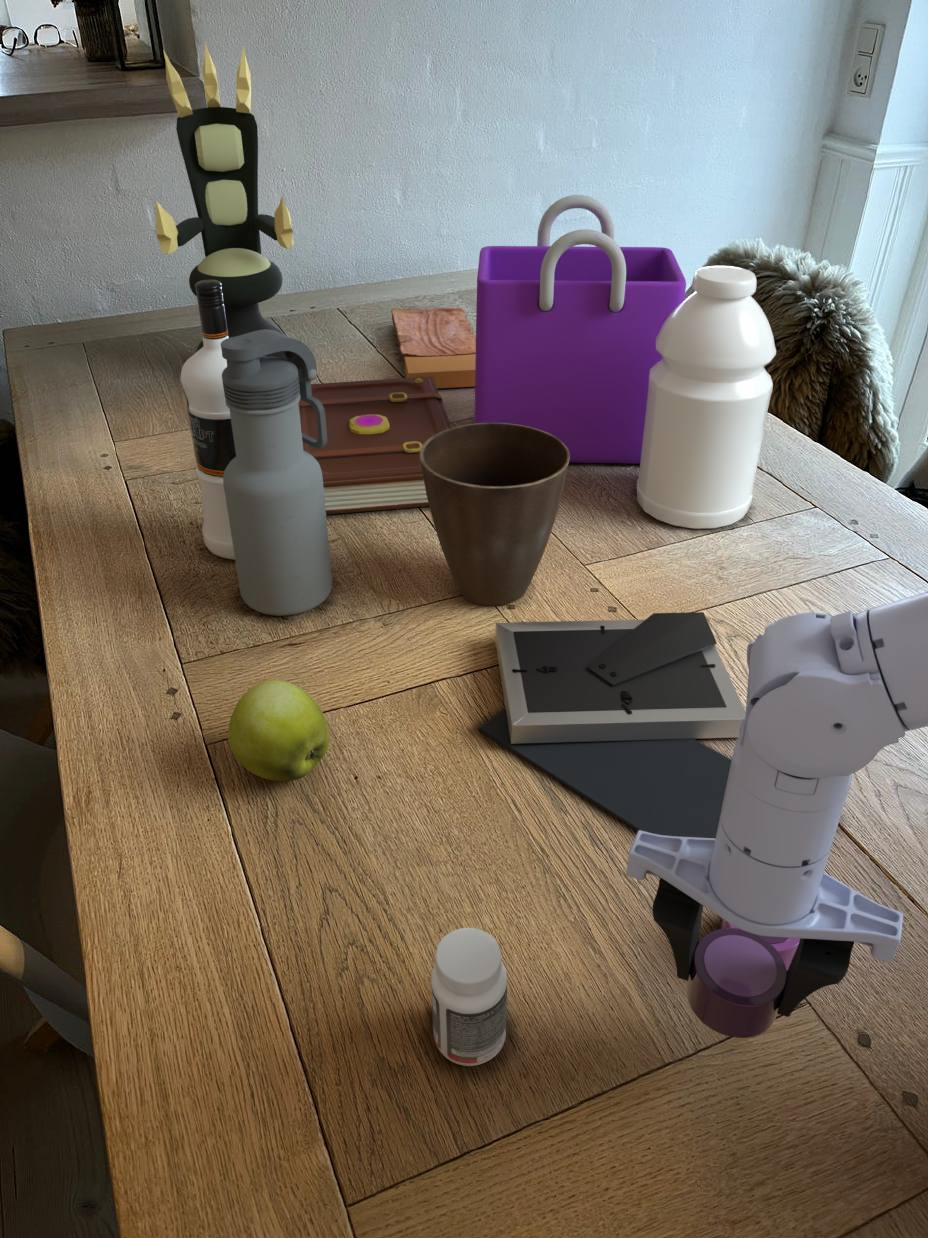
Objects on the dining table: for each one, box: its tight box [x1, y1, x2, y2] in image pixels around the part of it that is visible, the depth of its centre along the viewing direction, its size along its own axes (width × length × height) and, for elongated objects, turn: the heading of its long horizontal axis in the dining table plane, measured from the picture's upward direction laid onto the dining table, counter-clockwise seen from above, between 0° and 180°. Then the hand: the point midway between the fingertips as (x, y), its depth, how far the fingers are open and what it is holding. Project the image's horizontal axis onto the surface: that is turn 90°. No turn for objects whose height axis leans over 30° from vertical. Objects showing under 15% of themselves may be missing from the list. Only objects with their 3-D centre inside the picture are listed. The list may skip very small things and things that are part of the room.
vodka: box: [179, 280, 236, 561], centre depth 108 cm, size 9×9×30 cm
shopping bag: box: [473, 194, 687, 465], centre depth 131 cm, size 28×22×30 cm
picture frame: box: [494, 611, 746, 744], centre depth 93 cm, size 16×3×21 cm
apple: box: [227, 679, 331, 782], centre depth 84 cm, size 8×9×8 cm
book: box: [299, 376, 452, 515], centre depth 134 cm, size 23×32×5 cm
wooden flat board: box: [390, 307, 476, 389], centre depth 165 cm, size 13×30×3 cm, turn 8°
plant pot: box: [420, 423, 570, 607], centre depth 104 cm, size 15×15×16 cm
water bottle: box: [221, 329, 333, 617], centre depth 100 cm, size 10×10×28 cm
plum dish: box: [720, 918, 800, 971], centre depth 70 cm, size 5×5×3 cm
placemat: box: [478, 708, 732, 839], centre depth 85 cm, size 28×12×1 cm, turn 46°
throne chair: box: [155, 40, 294, 360], centre depth 149 cm, size 19×22×45 cm
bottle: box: [636, 265, 777, 529], centre depth 116 cm, size 14×14×28 cm
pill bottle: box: [430, 927, 508, 1067], centre depth 63 cm, size 5×5×8 cm
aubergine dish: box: [686, 928, 787, 1039], centre depth 60 cm, size 5×5×3 cm
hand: (735, 984), depth 60 cm, fingers closed on aubergine dish, 5 cm apart
